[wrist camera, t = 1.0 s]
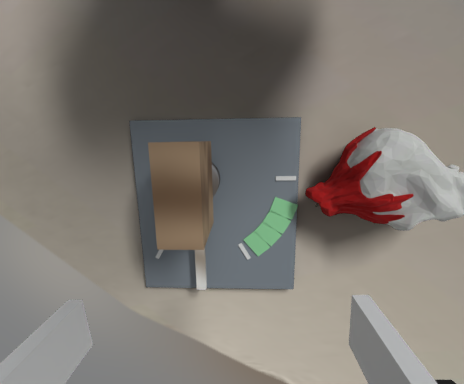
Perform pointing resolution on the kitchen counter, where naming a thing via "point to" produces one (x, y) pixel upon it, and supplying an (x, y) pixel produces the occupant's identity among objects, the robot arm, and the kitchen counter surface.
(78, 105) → the kitchen counter surface
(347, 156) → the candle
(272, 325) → the kitchen counter surface
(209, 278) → the dial board
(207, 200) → the knob
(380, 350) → the robot arm
